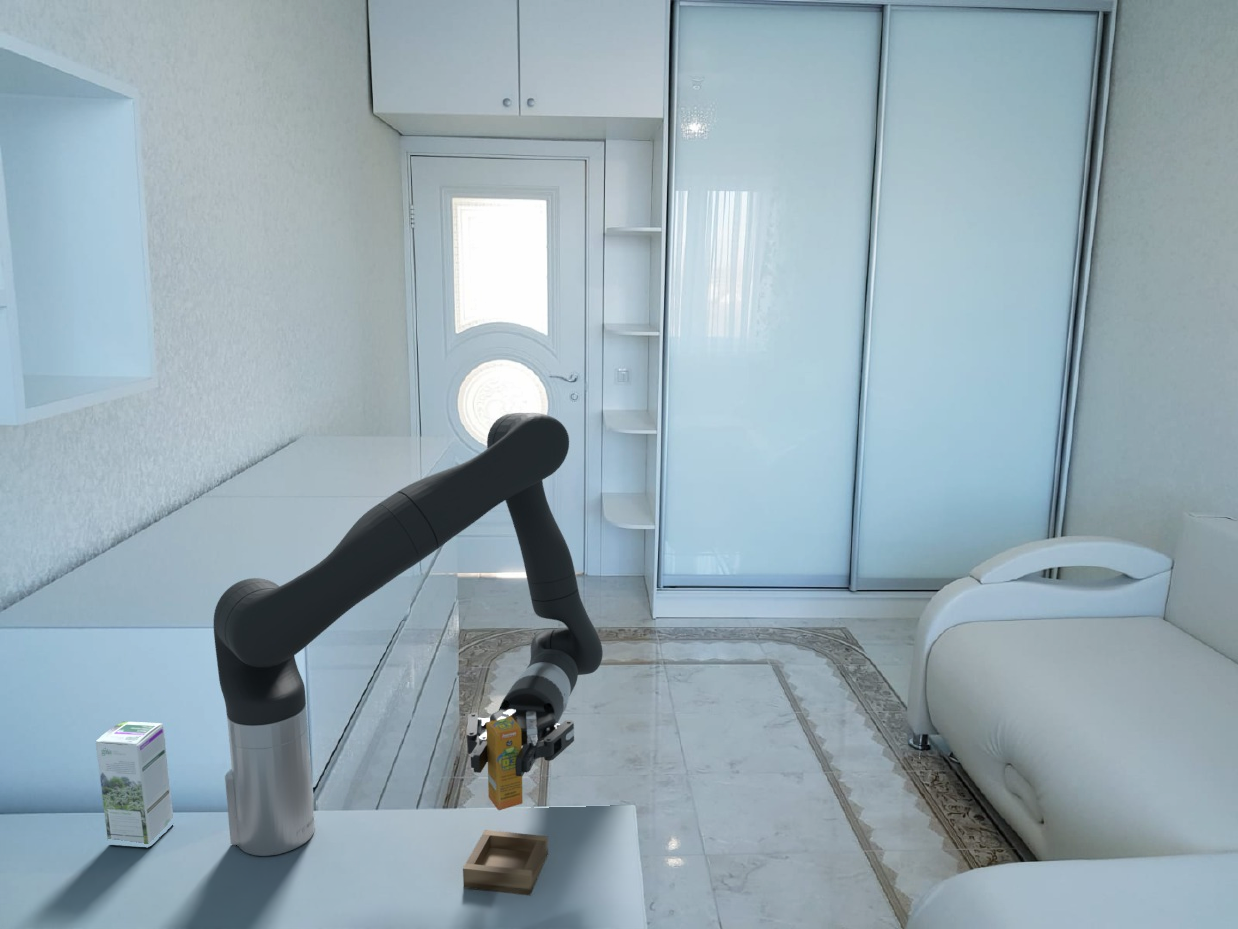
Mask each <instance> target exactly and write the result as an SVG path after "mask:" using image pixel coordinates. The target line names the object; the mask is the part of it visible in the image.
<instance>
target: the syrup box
mask: <svg viewBox="0 0 1238 929" xmlns="http://www.w3.org/2000/svg"><path fill="white" fill-rule="evenodd" d="M164 728H165V727H164V723H162V722H161V723H160V722H141V721H121V722H119V723H117V724H116V725H114V726H112V727H111V728H110V729H109V730H107V731H105V733H104V734H102V735H100V736H99V738H98V739H96V740H95V750H96V757H97V758H96V759H97V763H98V773H99V780H100V789H101V796H102V804H103V805H102V806H103V813H104V820H105V827H106V836H107V837H106V838H107V840H108V839H112V840H121V841H123V840H124V841H130V842H136V843H137V842H138V843H144V844H149V843H150V842H151V841H152V840H154V838H155V837H156V836H157V835H158V834H160V832H161V831H162V830H163V829H164V828H165V827H166V826H167V825H168V823H169V822H170V821H171V819H172V818H173V817H174V810H173V805H172V804H173V803H172V795H171V794H172V793H171V786H170V777H169V776H170V775H169V768H168V757H167V756H168V754H167V747H166V738H165V729H164Z"/></svg>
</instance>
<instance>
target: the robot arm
mask: <svg viewBox="0 0 1238 929" xmlns="http://www.w3.org/2000/svg"><path fill="white" fill-rule="evenodd" d="M486 439H487V440H486V446H487V447H486V449H485V450H484V451H482V452H481V453H479V454H478V455H476V456H474V457H473V458H471V459H469V460H467V461H465V462H462V463H461V464H458V465H455V466H453V467H450V468H447V469H445V470H442V471H439V472H436V473H434V474H431V475H428V476H426V477H424V478H421V479H419V480H417V481H415V482H414V481H413V482H412V483H410V484H409V485H407V486H405V487H403V488H401V489H399V490H398V491H396V492H394V493H393V494H391V495H390V496H388V497H386V499H384V500H383V501H380V502H379V503H378V504H376V505H375V506H373V507H371V508H370V509H369V510H367V511H366V512H365V513H364V514H363V515H362V516H360V518H359V519H358V520H357V521H356V522H355V523H354V525H353V526H352V527H351V528H350V529H349V530H348V531H347V532H346V534H345V535H344V537H343V538H342V539H341V540H340V541H339V543H338V544H337V545H336V547H335V548H333V549H332V551H331V552H330V553H329V554H328V555H327V556H326V557H325V558H323V559H322V560H321V561H320V562H319V563H317V564H316V565H314V566H312V567H311V568H309V569H308V570H307V571H305V572H303V573H302V574H299V575H298V576H296V577H295V578H293V579H292V580H290V581H288V582H286V583H284V584H282V585H278V584H277V583H275V582H274V581H271V580H268V579H266V578H260V577H257V578H256V577H254V578H253V577H252V578H247V579H243V580H239V581H238V582H235V583H234V584H232V585H231V586H230V587H229V588H227V589H226V590H225V591H224V592H223V593H222V595H221V596H220V598H218V599H219V600H218V601H217V604H216V606H215V609H214V612H213V613H214V614H213V637H214V638H213V639H214V645H215V646H214V647H215V655H216V663H217V672H218V681H219V686H220V689H221V693H222V695H223V696H222V697H223V699H224V703H225V709H226V719H227V720H226V722H227V729H228V730H227V731H228V742H229V750H230V751H229V753H230V765H231V769H229V771H227V772H226V773H225V775H224V783H225V784H224V785H225V792H226V793H225V795H226V803H227V804H226V806H227V815H228V825H229V826H228V827H229V828H228V829H229V836H230V837H229V838H230V839H229V840H230V845H231V844H232V845H231V846H236V845H237V847H238V848H240V850H242V851H243V852H244V853H246V854H249V855H253V856H259V857H265V856H266V857H267V856H274V855H280V854H281V855H282V854H284V853H287V852H290V851H292V850H295V849H297V848H299V847H301V846H303V845H304V844H305V843H307V842H308V841H309V840H310V839H311V838H312V837H313V835H314V832H315V828H316V827H315V813H314V811H315V810H314V797H313V796H314V795H313V794H314V793H313V781H312V780H313V779H312V769H311V767H312V766H311V753H310V742H309V741H310V740H309V725H308V713H307V711H308V710H307V701H306V699H307V698H306V687H305V684H304V683H305V682H304V681H303V678H302V675H301V673H300V670H299V668H298V664H297V662H296V656H297V654H299V653H300V652H301V651H302V650H303V649H304V648H306V647H307V646H308V645H309V644H310V643H312V642H313V641H314V640H315V639H317V637H318V636H320V635H321V634H322V633H323V632H324V631H326V630H327V629H328V628H329V627H330V626H332V625H333V624H334V623H335V622H336V621H337V620H338V619H340V618H341V617H342V616H343V615H344V614H347V612H349V611H350V610H351V609H352V608H353V607H355V606H356V605H357V604H359V603H360V602H362V601H363V600H365V599H367V598H368V597H370V596H371V595H372V594H374V593H375V592H377V591H378V590H380V589H382V587H384V586H385V585H387V584H389V582H391V581H392V580H394V579H396V578H397V577H398V576H399V575H401V574H403V573H404V572H405V571H407V570H410V568H412V567H413V566H415V565H417V564H418V563H420V562H421V561H423V560H424V559H426V558H427V557H428V556H430V555H431V554H432V553H434V552H436V551H437V550H438V549H440V548H441V547H442V546H444V545H445V544H446V543H448V542H449V541H450V540H452V539H453V538H454V537H456V536H458V534H460V533H461V532H463V531H464V530H466V529H467V528H468V527H470V526H471V525H473V524H475V522H477V521H478V520H479V519H481V518H482V517H483V516H485V515H486V514H487V513H488V512H491V510H493V509H495V507H497V506H498V505H500V504H501V503H503V502H505V503H506V507H507V509H508V512H509V516H510V518H511V521H512V524H513V528H514V530H515V531H514V532H515V533H516V536H517V541H518V545H519V548H520V552H521V558H522V561H523V566H524V571H525V575H526V580H527V584H528V590H529V596H530V600H531V604H532V608H533V612H534V614H535V615H536V616H537V617H539V618H542V619H546V620H552V621H553V620H554V621H559V622H560V623H563V624H564V625H565V627H562V628H552V629H545V630H542V631H540V632H538V633H537V634H535V635H534V637H533V638H532V640H531V643H530V660H529V665H528V666H527V668H526V669H525V670H524V671H522V673H521V674H520V675H519V676H518V677H517V678H516V680H515V682H514V683H513V685H512V686H511V687H510V689H509V691H508V692H507V693H506V695H505V696H504V698H503V699H502V702H501V703H500V706H499V709H498V710H497V711H495V712H493V713H492V714H491V715H490V717H485V718H482V717H479V713H477V712H472V713H469V714H468V715H467V716H468V717H467V727H466V749H467V754H469V755H470V768H471V769H473V773H482V772H483V770H484V768H485V766H486V765H487V764H488V758H487V730H486V723H487V722H489V721H495V720H499V719H504V718H507V717H510V716H511V717H512V718H513V719H514V720H515V721H516V722H517V723H518V725H519V726H520V727H521V745H522V749H521V750H520V752H519V754H518V756H517V757H516V761H515V769H516V776H522V777H523V776H524V774H525V773H526V774H527V773H529V772H530V771H531V769H532V768H533V765H534V764H535V763H536V762H538V761H539V759H540V758H541V759H542V758H543V759H544V761H546V762H549V761H553V760H554V759H556V757H558V756H559V755H560V754H561V753H562V752H563V751H565V750H566V749H567V748H568V747H569V746H571V745H572V743H573V742H575V722H574V720H572V719H567V720H565V721H563V722H562V723H559V721H560V719H561V718H562V716H563V714H564V713H565V711H566V709H567V705H568V703H569V700H570V699H569V698H570V696H571V694H572V692H573V690H574V689H575V687H576V685H577V681H578V677H579V676H581V675H582V676H583V675H584V676H585V675H589V674H590V675H591V674H592V673H594V672H596V671H597V670H598V669H599V668H600V666H601V663H602V660H603V655H604V654H603V653H604V651H603V646H602V642H601V639H600V637H599V634H598V633H597V630H596V628H595V626H594V625H593V622H592V620H591V619H590V617H589V615H588V613H587V611H586V608H585V606H584V604H583V601H582V599H581V595H580V590H579V586H578V581H577V576H576V571H575V567H574V561H573V558H572V555H571V552H570V549H569V546H568V544H567V542H566V539H565V537H564V535H563V533H562V531H561V529H560V528H559V525H558V523H557V521H556V519H555V518H554V515H553V513H552V510H551V508H550V505H549V503H548V499H547V496H546V492H545V488H544V484H543V483H544V482H543V480H545V479H546V478H549V477H550V476H551V475H553V474H554V473H556V472H557V470H559V468H560V467H561V466H562V465H563V463H564V462H565V460H566V458H567V455H568V452H569V448H570V437H569V433H568V430H567V428H566V427H565V426H564V425H563V423H562V422H560V421H559V420H558V419H556V418H555V417H552V416H550V415H548V414H545V413H540V412H513V413H512V412H511V413H506V414H504V415H502V416H500V417H499V418H497V419H496V420H495V421H494V423H492V425H491V427H490V428H489V431H488V434H487V438H486ZM295 655H296V656H295Z"/></svg>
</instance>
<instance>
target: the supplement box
mask: <svg viewBox="0 0 1238 929" xmlns="http://www.w3.org/2000/svg"><path fill="white" fill-rule="evenodd" d="M485 731H487V758H488V762H487V782H488V783H487V784H488V787H487V788H488V798H489V800H490V802H492V804H493V805H494V807H495V808H496V809H497V810H498V811H502V810H506V809H508V808H509V809H510V808H512V807H515V806H519V805H522V804H523V776H516V769H515V761H516V757H517V756H518V754H519V752H520V750H521V749H522V747H523V746H522V745H521V727H520V726H519V725H518V723H517V722H516V721H515V720H514V719H513V718H512V717H511V716H510V717H507V718H504V719H499V720H495V721H489V722H487V723H486V730H485Z"/></svg>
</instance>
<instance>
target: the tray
mask: <svg viewBox="0 0 1238 929" xmlns="http://www.w3.org/2000/svg"><path fill="white" fill-rule="evenodd" d="M548 837H549V836H547V835H540V834H530V833H521V832H520V833H519V832H510V831H501V830H490V829H489V830H488V829H484V831H483V832H482V834H481V836H480V838H479V839H478V841H477V843H476V845H475V846H474V848H473V849H472V852H471V853H470V854H469V857H468V859H467V860H466V863H465V864H464V866H463V868H462V880H463V881H462V883H463V885H462V886H463V888H464V889H469V890H479V891H489V892H494V893H495V892H496V893H505V894H514V895H523V896H531V895H532V893H533V890H534V887H535V885H536V883H537V882H538V879H539V876H540V874H541V872H542V869H543V867H544V864H545V862H546V861H547V858H548V856H549V840H548V839H549V838H548ZM547 855H548V856H547Z"/></svg>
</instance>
